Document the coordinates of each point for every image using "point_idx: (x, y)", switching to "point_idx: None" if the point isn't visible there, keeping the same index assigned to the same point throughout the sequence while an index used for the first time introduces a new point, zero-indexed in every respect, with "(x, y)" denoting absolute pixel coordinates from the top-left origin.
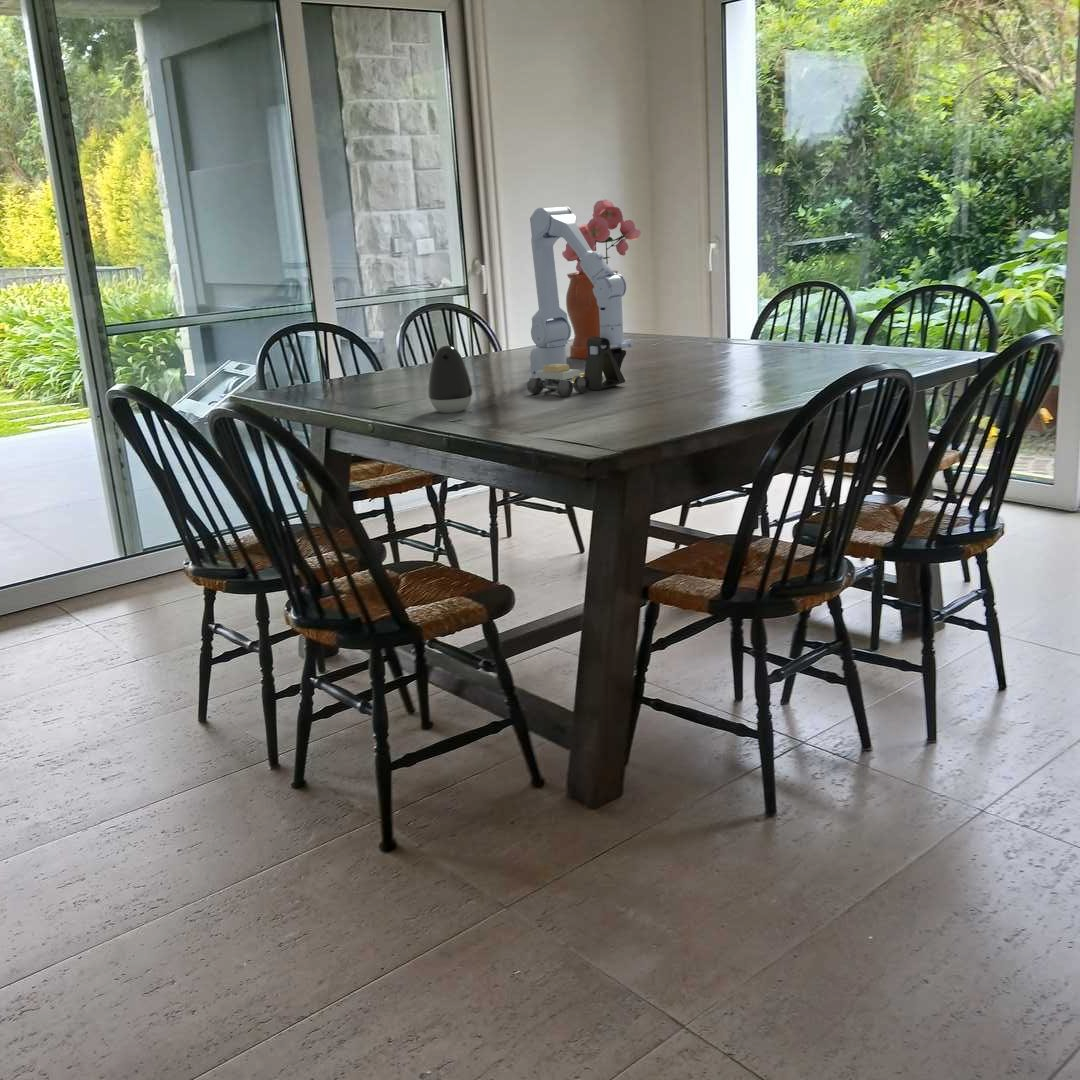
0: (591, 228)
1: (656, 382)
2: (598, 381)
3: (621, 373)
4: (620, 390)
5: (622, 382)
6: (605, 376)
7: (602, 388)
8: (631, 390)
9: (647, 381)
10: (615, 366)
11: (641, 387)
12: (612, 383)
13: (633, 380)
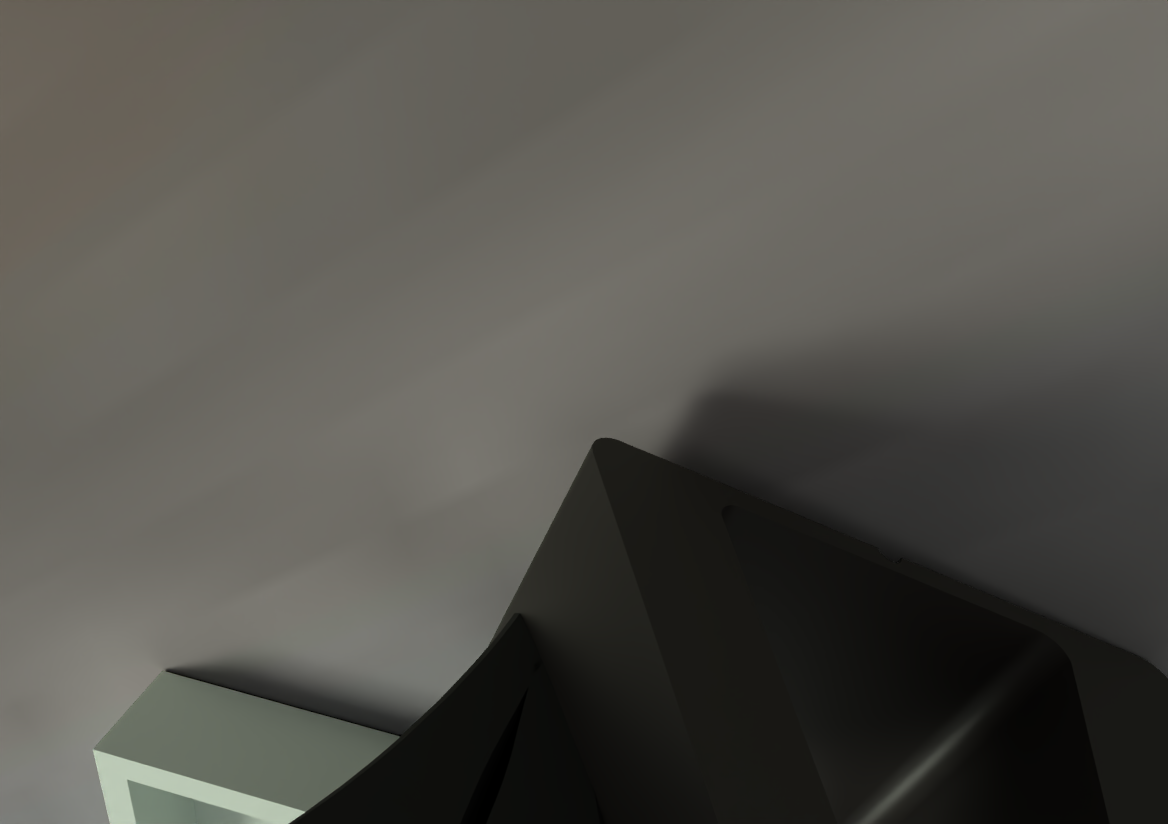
0: None
1: (84, 41)
2: (1162, 761)
3: (642, 573)
4: (1074, 283)
5: (651, 462)
6: None
7: (1040, 621)
8: (1068, 36)
9: (95, 262)
10: (773, 788)
11: (649, 23)
12: (782, 583)
13: (139, 502)
